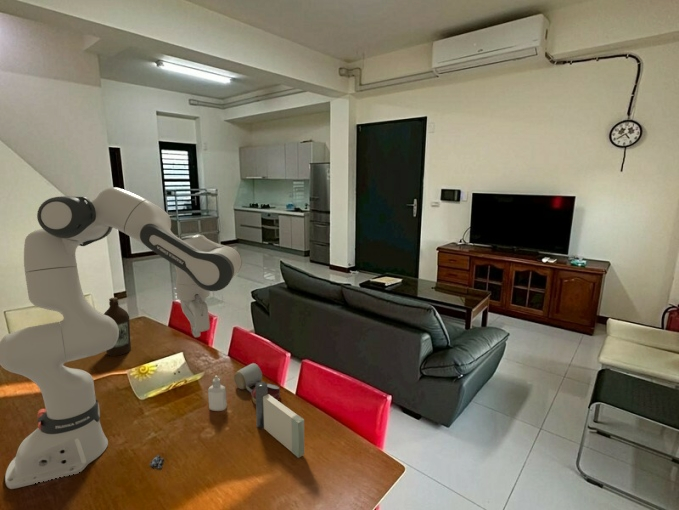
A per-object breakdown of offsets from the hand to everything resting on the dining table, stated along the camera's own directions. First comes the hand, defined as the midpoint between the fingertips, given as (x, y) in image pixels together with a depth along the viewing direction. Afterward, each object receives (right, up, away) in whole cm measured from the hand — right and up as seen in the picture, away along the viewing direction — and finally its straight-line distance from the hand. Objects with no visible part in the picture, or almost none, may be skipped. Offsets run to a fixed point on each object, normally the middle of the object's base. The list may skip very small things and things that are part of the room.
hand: (196, 335), depth 109 cm
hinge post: (+18, -30, +8) cm, 36 cm away
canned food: (+16, -28, +23) cm, 39 cm away
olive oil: (-57, -20, +56) cm, 83 cm away
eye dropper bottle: (+1, -29, +16) cm, 33 cm away
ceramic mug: (+9, -26, +30) cm, 41 cm away
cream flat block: (+26, -31, 0) cm, 41 cm away
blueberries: (-7, -34, -8) cm, 35 cm away
